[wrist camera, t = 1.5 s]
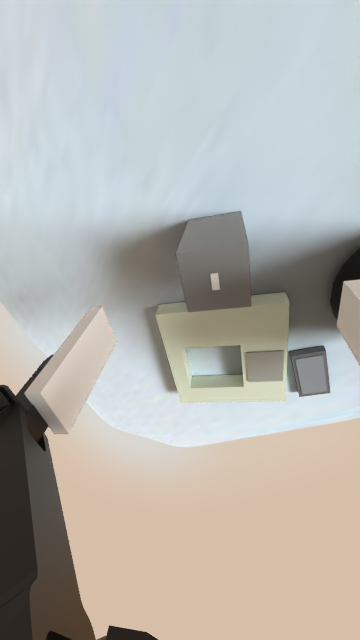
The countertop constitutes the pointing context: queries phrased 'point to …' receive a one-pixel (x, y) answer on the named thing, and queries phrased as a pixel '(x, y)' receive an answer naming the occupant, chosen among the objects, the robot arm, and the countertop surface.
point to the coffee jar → (351, 270)
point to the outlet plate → (229, 330)
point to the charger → (215, 263)
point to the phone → (311, 371)
